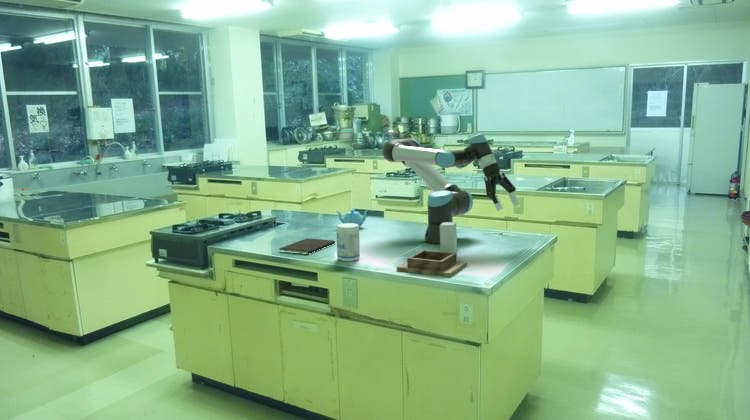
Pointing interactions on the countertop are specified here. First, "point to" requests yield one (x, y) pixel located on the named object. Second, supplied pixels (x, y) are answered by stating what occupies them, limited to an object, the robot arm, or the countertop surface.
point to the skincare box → (448, 237)
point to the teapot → (353, 217)
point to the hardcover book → (307, 245)
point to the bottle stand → (433, 263)
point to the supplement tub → (348, 242)
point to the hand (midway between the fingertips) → (508, 207)
